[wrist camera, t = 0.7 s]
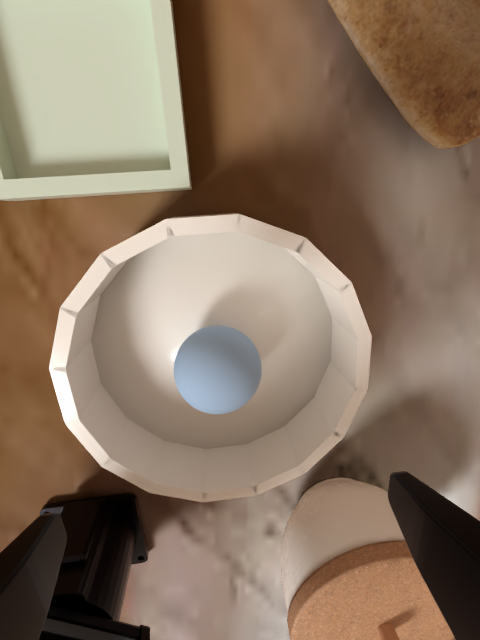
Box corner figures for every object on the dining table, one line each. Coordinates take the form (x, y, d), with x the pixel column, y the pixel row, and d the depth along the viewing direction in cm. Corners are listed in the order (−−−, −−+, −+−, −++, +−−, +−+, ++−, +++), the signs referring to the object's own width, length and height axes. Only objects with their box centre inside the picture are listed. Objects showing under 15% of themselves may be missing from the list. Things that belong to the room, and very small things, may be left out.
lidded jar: (245, 541, 26) (265, 713, 17) (303, 436, 23) (362, 577, 14) (358, 564, 28) (426, 726, 19) (423, 471, 25) (538, 611, 17)
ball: (256, 380, 20) (270, 427, 16) (182, 388, 20) (175, 439, 15) (253, 310, 19) (267, 341, 14) (172, 317, 18) (162, 351, 14)
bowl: (332, 432, 23) (360, 481, 19) (114, 458, 22) (92, 517, 18) (341, 205, 18) (382, 204, 14) (57, 224, 17) (8, 229, 13)
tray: (192, 189, 17) (190, 187, 15) (15, 200, 16) (-10, 199, 15) (168, -32, 14) (162, -68, 12) (-48, -28, 14) (-89, -66, 12)
